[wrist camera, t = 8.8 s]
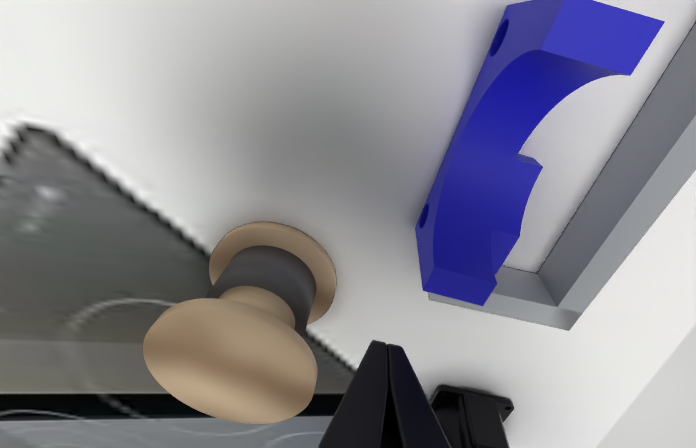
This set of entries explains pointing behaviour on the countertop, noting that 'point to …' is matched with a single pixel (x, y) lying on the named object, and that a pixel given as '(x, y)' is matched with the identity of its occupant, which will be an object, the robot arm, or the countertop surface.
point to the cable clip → (514, 133)
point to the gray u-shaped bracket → (610, 208)
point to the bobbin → (247, 328)
